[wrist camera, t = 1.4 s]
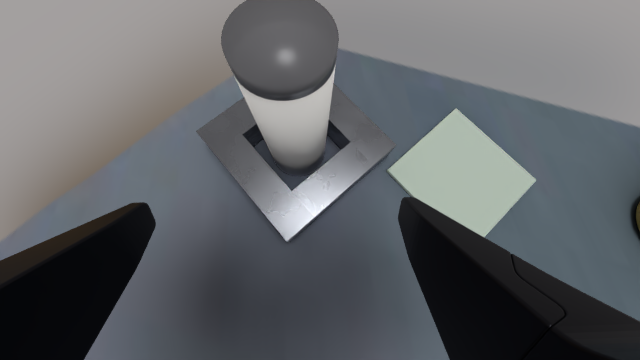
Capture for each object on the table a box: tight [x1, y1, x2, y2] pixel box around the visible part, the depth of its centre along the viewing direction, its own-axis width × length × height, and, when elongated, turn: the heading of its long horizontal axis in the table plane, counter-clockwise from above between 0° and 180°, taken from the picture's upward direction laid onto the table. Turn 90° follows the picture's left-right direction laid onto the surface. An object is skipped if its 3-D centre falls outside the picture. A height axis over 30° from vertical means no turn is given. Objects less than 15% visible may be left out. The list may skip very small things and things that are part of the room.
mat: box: [387, 109, 536, 237], centre depth 23 cm, size 10×10×1 cm
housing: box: [196, 83, 396, 242], centre depth 22 cm, size 12×12×3 cm
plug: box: [221, 0, 339, 176], centre depth 17 cm, size 5×5×13 cm
